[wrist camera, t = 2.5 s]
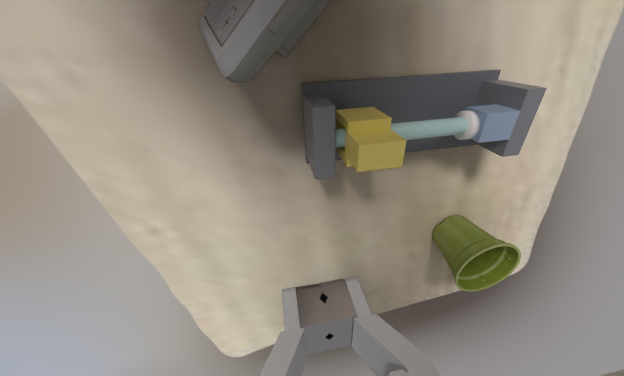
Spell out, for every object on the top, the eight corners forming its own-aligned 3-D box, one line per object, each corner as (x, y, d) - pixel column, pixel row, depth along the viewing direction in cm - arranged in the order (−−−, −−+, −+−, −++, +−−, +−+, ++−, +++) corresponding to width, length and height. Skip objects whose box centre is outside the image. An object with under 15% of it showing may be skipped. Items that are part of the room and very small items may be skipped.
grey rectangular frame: (306, 161, 31) (315, 187, 25) (301, 83, 26) (312, 95, 21) (473, 142, 34) (514, 162, 28) (496, 69, 29) (551, 76, 24)
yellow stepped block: (335, 150, 28) (356, 182, 21) (335, 109, 25) (359, 133, 19) (369, 146, 28) (400, 177, 22) (373, 106, 26) (408, 128, 20)
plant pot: (468, 244, 45) (508, 284, 37) (418, 254, 44) (450, 297, 37) (481, 202, 40) (531, 238, 32) (426, 212, 39) (465, 252, 32)
